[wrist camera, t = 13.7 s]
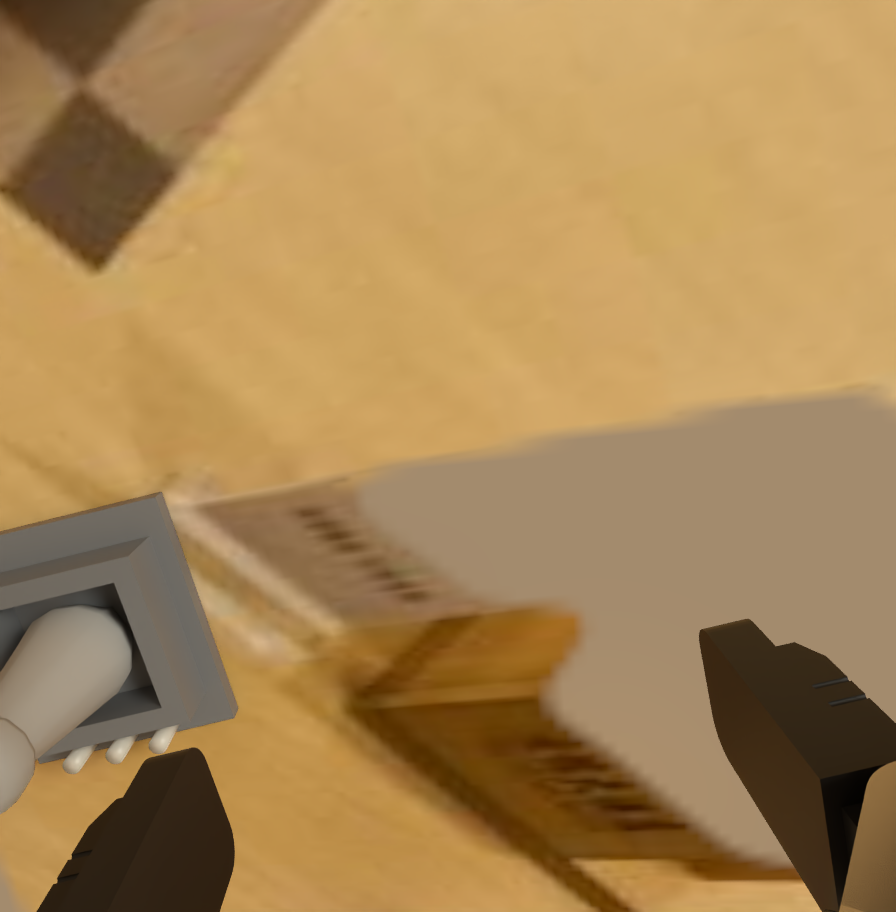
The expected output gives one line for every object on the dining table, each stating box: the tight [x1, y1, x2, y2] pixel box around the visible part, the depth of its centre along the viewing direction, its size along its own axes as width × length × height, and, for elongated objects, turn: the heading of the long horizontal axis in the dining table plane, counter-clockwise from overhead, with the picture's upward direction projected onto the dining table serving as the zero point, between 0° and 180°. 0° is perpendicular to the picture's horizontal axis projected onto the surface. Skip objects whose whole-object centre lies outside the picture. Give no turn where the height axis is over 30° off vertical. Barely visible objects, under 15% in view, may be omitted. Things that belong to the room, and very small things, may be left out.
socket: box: [0, 492, 238, 774], centre depth 42 cm, size 14×12×4 cm
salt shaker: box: [0, 604, 132, 814], centre depth 36 cm, size 6×6×13 cm
